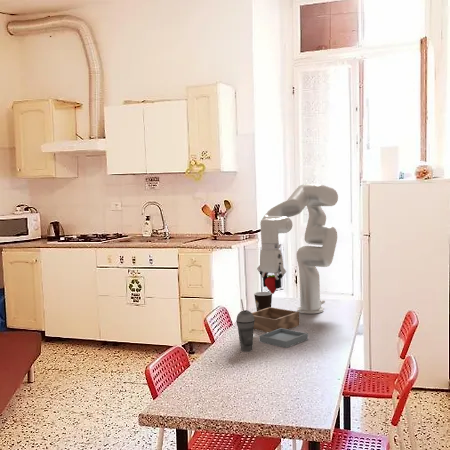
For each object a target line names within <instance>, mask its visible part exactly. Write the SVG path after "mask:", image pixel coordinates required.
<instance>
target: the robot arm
mask: <svg viewBox="0 0 450 450" xmlns="http://www.w3.org/2000/svg"><path fill="white" fill-rule="evenodd" d="M338 201H339V194H338V192H337V190H335V189H334V188H333V187H329V186H327V185H325V184H320V183H308V184H307V183H306V184H304V183H303V184H300V185H299V186H298V187H297V188H296V189H295V190H294V191H293V192H292V194H291V195H289V196H288V198H287V199H286V200H285V201H282V202H281V203H279V204H277V205H275V206H273V207H272V208H270V209H269V210H268V211H267V212H266V213H265V214H264V216H263V218H262V219H261V220H260V221H259V222H260V237H261V238H260V239H261V240H260V242H261V244H260V245H261V250H260V254H259V265H258V267H257V269H256V270H257V271H258V273H259V274H260V276H261V278H262V286H263V288H267V287H266V284H265V280H266V278H268V276H266V275H269V274H273V275H275V277H276V280H275V288H276V290H277V289H281V287H282V279H283V277H284V275H285V274H286V273H287V271H286V269H285V268H284V261H283V260H284V259H283V253H282V251H281V249H280V248H281V245H280V244H279V234H287V233H289V232H290V231H291V230H292V228H293V221H292V219H291V217H294V216H297V215H300V214H301V213H302V211H303V210H304V209H305V208H307V212H308V220H307V223H306V228H305V233H304V241H305V243H306V244H307V245H304V246H301V247H299V248H298V249H297V251H296V261H297V265H298V272H299V273H298V275H299V298H300V299H299V303H300V304H299V305H300V306H299V307H297V308H296V309H297V310H296V312H299V314H305V315H306V314H307V315H308V314H309V315H311V314H312V315H313V314H319V313H323V312H324V311H325V310H324V307H322V305H325V304H326V301H325V300H324V299H321V291H320V290H321V289H320V288H321V286H320V272H319V270H318V269H317V267H318V268H319V267H321V268H328V267H330V266H331V264H332V263H333V260H334V256H335V255H334V254H335V251H336V247H337V243H338V231H337V229H336V227H334V226H333V225H326V222H327V216H326V213H325V211H324V210H323V208H322V207H333V206H335V205H336V204H337V203H338Z"/></svg>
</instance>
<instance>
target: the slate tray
mask: <svg viewBox="0 0 450 450" xmlns="http://www.w3.org/2000/svg"><path fill="white" fill-rule="evenodd" d="M307 340H309V334H308V333H307V332H303V331H298V330H292V329H283V328H280V329H277V330H274V331H271V332H266V333H263V334H261V335H260V334H259V336H258V341H259V343H264V344H267V345H272V346H277V347H280V348H281V347H282V348H286V349H288V348H289V347H293V346H295V345H298V344H299V343H302V342H305V341H307Z"/></svg>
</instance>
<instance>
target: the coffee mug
mask: <svg viewBox="0 0 450 450" xmlns="http://www.w3.org/2000/svg"><path fill="white" fill-rule="evenodd" d="M253 295H254V296H253V297H254V302H255V308H256V311H259V310H263V309H266V308H269V307H272V300H273V294H272V293H271V292H270V291H257V292H254V294H253Z"/></svg>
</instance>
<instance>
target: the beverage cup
mask: <svg viewBox="0 0 450 450" xmlns="http://www.w3.org/2000/svg"><path fill="white" fill-rule="evenodd" d="M240 302H241V309H242V310H241V311H240V312H239V313H238V314H237V315H236V320H235V322H236V326H237V327H236V328H237V331H238V339H239V346H240V351H241V352H246V353H247V352H252V351H253V349H254V348H253V346H254V321H255V319H254V316H253V314H252V313H253V312H252V311H249V310H247V309H246V310H245V309H244V302H243V299H242V298H241V299H240Z"/></svg>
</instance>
